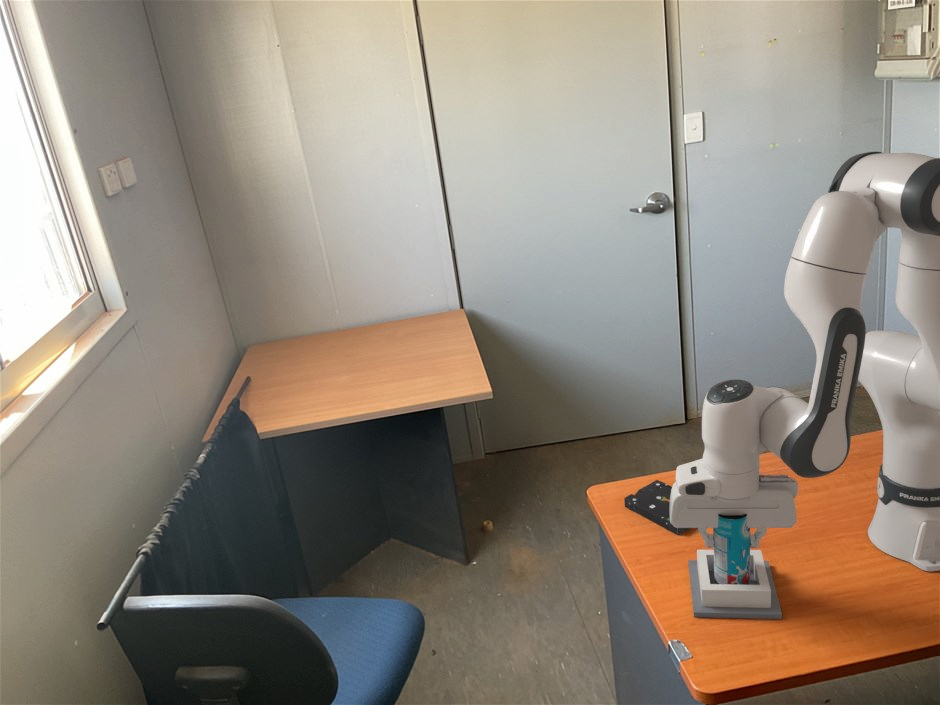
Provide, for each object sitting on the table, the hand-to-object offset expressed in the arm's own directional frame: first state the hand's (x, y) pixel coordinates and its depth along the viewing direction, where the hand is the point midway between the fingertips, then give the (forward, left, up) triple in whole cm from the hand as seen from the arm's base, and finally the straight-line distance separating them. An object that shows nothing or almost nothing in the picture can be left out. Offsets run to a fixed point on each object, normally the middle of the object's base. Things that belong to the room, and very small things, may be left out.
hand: (731, 545), depth 131 cm
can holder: (0, 0, -10) cm, 10 cm away
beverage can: (0, 0, -8) cm, 8 cm away
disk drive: (+10, -25, -10) cm, 29 cm away
